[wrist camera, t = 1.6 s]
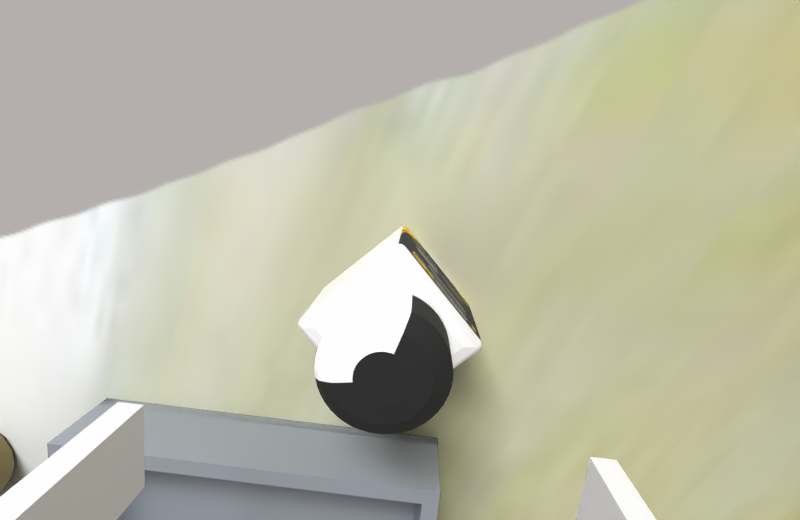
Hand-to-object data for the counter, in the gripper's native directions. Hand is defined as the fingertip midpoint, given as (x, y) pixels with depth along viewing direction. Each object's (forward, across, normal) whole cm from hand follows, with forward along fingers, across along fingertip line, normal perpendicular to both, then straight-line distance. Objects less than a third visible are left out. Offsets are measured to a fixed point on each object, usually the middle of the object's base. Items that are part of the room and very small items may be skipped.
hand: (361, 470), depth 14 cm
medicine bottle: (+18, 0, 0) cm, 18 cm away
